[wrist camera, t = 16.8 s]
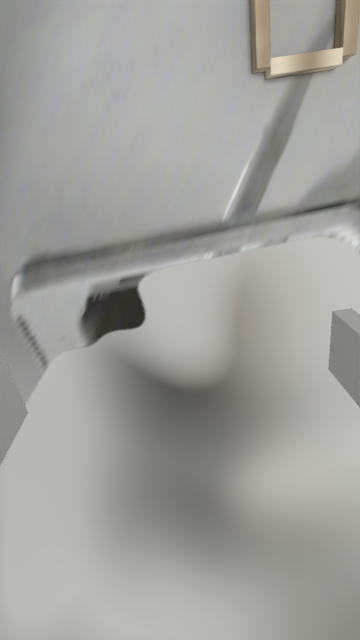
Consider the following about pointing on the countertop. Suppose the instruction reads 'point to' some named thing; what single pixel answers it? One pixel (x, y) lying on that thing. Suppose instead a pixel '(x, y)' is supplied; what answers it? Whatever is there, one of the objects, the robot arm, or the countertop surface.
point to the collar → (344, 48)
